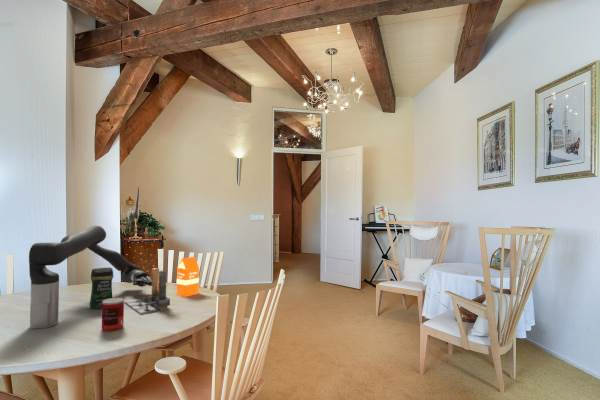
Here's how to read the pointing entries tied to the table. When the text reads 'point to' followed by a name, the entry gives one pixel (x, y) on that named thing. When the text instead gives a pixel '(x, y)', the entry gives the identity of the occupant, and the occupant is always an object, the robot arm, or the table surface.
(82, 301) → the table surface
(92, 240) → the robot arm
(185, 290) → the orange juice
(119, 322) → the canned food
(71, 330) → the table surface
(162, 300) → the grey metal fixture
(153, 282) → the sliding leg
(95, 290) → the coffee jar
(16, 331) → the table surface
